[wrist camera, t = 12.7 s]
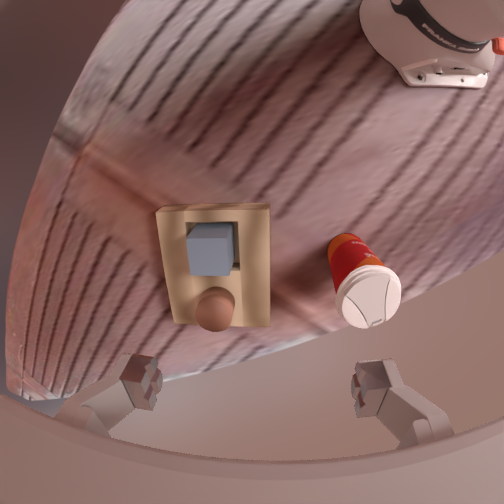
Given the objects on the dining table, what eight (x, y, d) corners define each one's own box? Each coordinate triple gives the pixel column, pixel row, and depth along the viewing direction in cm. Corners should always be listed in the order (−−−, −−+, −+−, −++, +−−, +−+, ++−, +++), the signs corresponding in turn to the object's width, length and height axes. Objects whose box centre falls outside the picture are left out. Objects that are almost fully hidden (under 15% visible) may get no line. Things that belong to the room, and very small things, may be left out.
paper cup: (375, 263, 42) (408, 317, 30) (329, 281, 44) (346, 341, 31) (362, 217, 40) (398, 258, 27) (312, 236, 41) (328, 286, 29)
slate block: (233, 222, 40) (226, 238, 35) (235, 256, 42) (229, 276, 37) (197, 223, 41) (185, 238, 35) (200, 256, 43) (190, 275, 37)
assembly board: (269, 202, 40) (268, 219, 33) (270, 313, 47) (269, 344, 40) (164, 205, 41) (143, 221, 34) (180, 310, 48) (166, 339, 41)
